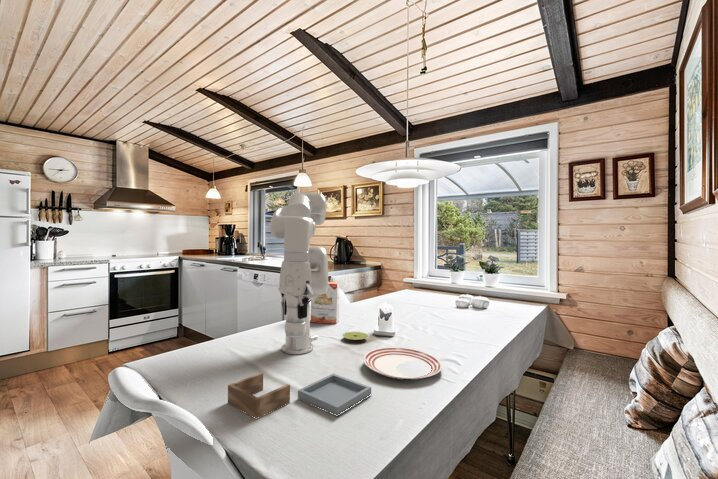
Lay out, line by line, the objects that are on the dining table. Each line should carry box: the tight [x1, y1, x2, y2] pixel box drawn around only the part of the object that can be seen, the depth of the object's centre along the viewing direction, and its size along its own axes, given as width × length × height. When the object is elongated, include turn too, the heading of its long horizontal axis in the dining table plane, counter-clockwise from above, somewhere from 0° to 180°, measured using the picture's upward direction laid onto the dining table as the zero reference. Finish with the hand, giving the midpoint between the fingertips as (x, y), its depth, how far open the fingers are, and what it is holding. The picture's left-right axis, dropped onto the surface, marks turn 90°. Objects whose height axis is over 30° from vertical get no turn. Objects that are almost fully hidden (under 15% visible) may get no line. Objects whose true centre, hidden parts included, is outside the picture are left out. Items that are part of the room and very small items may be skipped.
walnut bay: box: [227, 372, 291, 419], centre depth 96 cm, size 11×13×5 cm
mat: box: [342, 331, 369, 341], centre depth 153 cm, size 11×11×2 cm
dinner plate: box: [362, 346, 443, 380], centre depth 122 cm, size 28×27×3 cm
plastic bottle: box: [284, 286, 306, 337], centre depth 106 cm, size 6×7×20 cm
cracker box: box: [310, 281, 340, 325], centre depth 180 cm, size 14×6×21 cm, turn 81°
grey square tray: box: [297, 373, 372, 415], centre depth 100 cm, size 15×15×2 cm
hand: (295, 315), depth 106 cm, fingers closed on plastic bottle, 5 cm apart
